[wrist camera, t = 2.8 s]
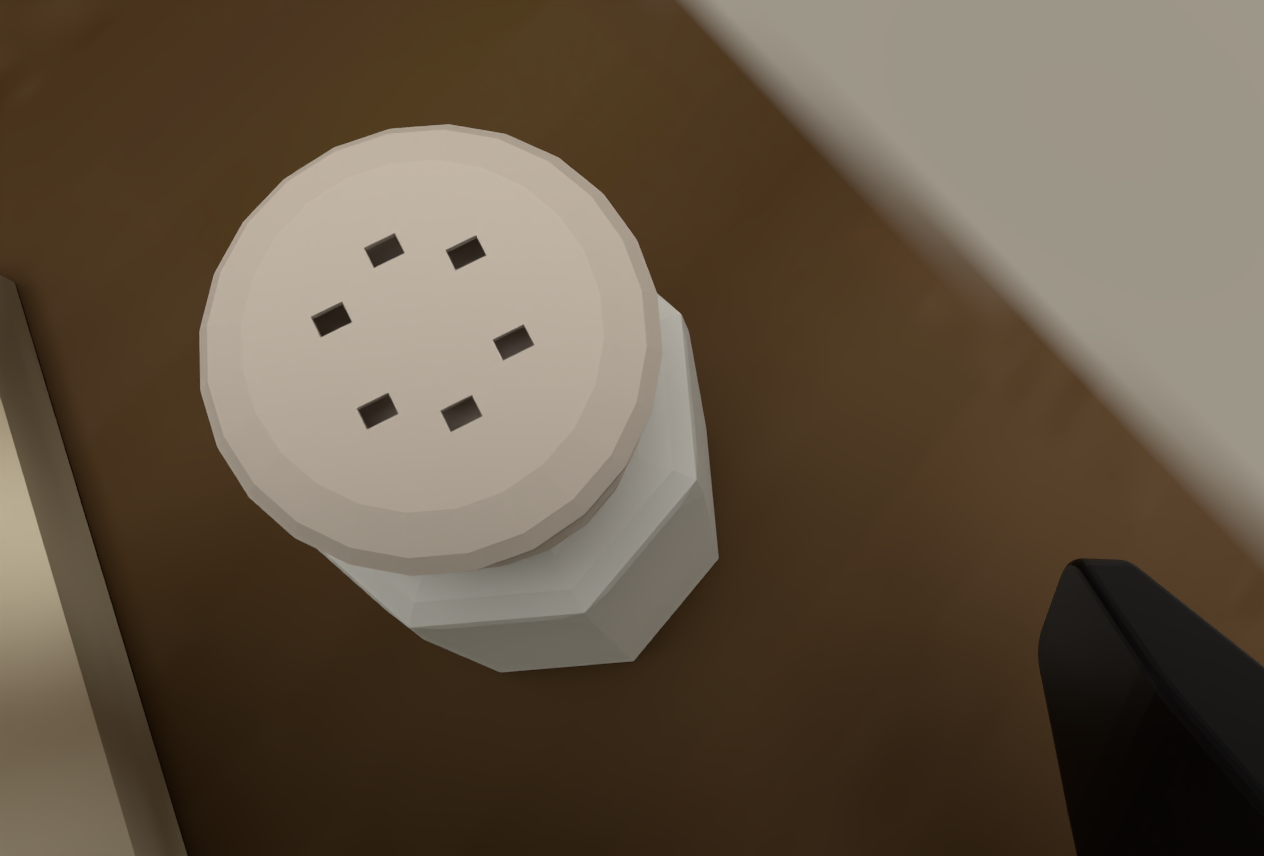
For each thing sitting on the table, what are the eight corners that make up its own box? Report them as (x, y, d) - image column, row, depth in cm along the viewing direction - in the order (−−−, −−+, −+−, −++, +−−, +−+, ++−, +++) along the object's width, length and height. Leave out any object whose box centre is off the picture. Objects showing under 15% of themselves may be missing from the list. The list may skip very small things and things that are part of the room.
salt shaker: (332, 435, 17) (-178, 142, 6) (628, 287, 18) (624, -222, 7) (477, 742, 16) (175, 1008, 6) (785, 580, 17) (1065, 532, 6)
